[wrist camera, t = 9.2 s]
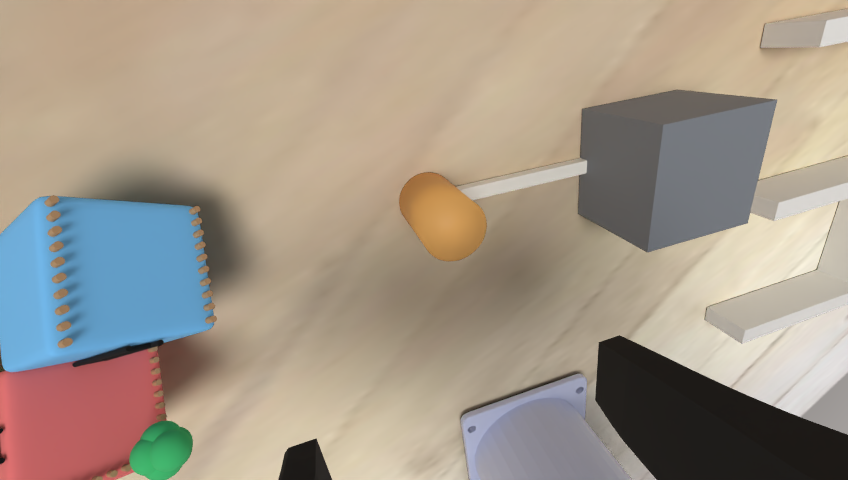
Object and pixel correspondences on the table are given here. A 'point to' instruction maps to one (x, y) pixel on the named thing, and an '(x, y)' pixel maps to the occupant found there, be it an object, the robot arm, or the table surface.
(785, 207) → the lane rack
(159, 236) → the building blocks
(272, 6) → the table surface
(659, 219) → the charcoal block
